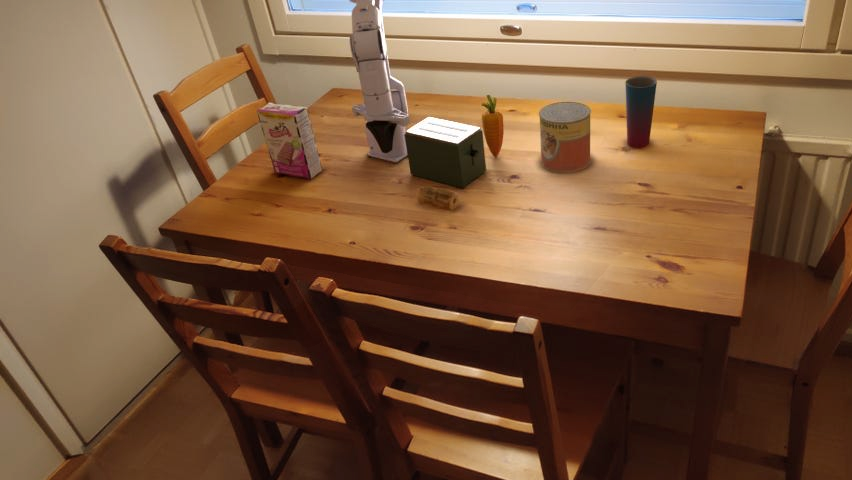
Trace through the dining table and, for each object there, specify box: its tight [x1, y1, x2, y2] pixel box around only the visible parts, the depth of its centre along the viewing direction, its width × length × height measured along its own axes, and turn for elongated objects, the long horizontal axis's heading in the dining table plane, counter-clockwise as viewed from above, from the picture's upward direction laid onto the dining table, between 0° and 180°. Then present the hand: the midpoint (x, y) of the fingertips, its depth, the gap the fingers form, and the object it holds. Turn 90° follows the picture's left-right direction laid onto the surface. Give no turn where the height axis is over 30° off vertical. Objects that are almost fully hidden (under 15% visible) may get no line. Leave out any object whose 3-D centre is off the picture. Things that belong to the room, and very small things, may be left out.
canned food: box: [538, 101, 592, 174], centre depth 154 cm, size 11×11×12 cm
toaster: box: [404, 116, 487, 190], centre depth 154 cm, size 16×9×11 cm, turn 55°
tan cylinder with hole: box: [417, 185, 460, 211], centre depth 145 cm, size 8×4×4 cm, turn 61°
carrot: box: [481, 93, 505, 158], centre depth 158 cm, size 5×5×15 cm
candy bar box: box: [256, 102, 323, 180], centre depth 160 cm, size 11×5×16 cm, turn 65°
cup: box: [624, 75, 658, 149], centre depth 157 cm, size 7×7×15 cm
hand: (387, 151), depth 148 cm, fingers closed
